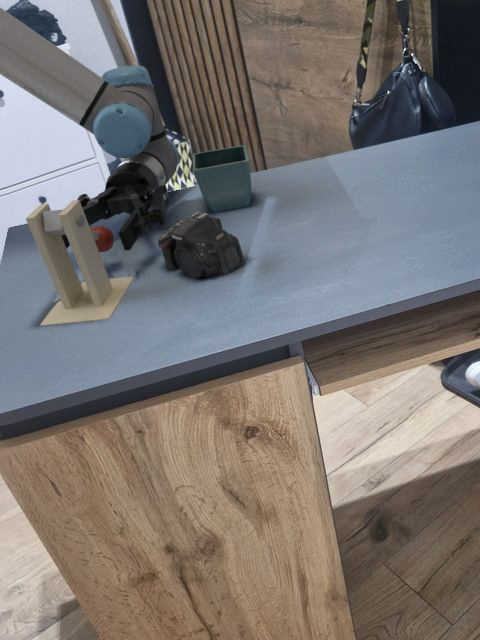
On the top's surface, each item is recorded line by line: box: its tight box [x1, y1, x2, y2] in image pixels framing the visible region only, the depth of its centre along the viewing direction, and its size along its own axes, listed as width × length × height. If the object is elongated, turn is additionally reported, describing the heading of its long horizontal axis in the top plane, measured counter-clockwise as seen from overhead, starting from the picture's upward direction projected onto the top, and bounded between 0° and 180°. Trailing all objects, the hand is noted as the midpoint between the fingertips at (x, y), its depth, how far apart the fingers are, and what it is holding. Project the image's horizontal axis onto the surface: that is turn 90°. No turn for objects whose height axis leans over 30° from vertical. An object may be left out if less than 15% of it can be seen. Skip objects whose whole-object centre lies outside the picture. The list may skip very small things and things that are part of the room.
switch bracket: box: [25, 199, 135, 327], centre depth 81 cm, size 11×9×14 cm
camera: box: [157, 211, 246, 280], centre depth 87 cm, size 11×8×9 cm
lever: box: [43, 209, 115, 253], centre depth 84 cm, size 14×4×4 cm
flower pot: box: [192, 144, 252, 213], centre depth 105 cm, size 9×9×9 cm
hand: (88, 245), depth 85 cm, fingers open, 9 cm apart
